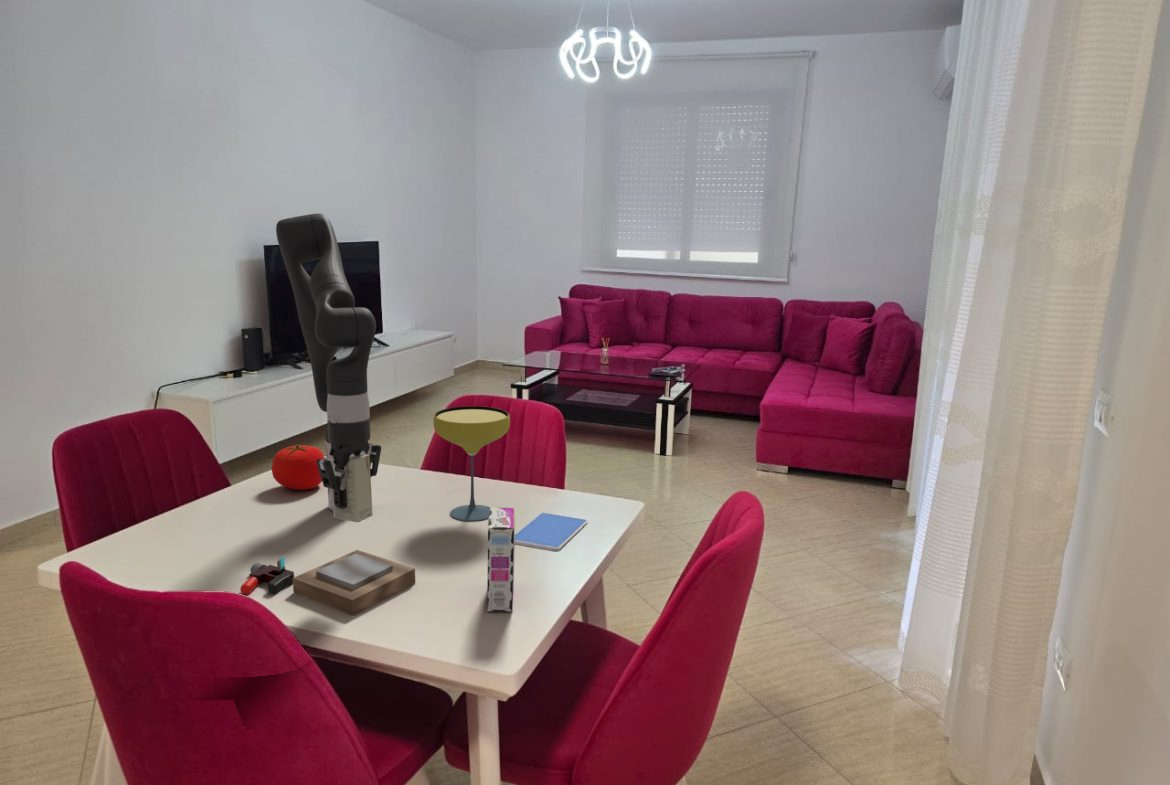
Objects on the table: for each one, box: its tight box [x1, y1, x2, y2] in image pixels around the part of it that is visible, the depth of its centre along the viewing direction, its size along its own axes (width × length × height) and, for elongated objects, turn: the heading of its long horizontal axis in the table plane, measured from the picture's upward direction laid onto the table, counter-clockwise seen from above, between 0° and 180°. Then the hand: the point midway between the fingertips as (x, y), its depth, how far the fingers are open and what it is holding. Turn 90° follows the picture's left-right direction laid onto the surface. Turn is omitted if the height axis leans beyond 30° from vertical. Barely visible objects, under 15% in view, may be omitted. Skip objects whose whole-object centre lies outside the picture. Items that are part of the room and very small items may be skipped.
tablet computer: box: [515, 512, 589, 552], centre depth 181 cm, size 19×13×1 cm, turn 160°
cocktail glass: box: [433, 405, 511, 522], centre depth 188 cm, size 18×18×25 cm
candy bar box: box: [486, 507, 516, 613], centre depth 146 cm, size 11×5×16 cm, turn 5°
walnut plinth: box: [292, 549, 416, 616], centre depth 150 cm, size 16×16×4 cm
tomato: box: [271, 444, 326, 491], centre depth 205 cm, size 13×14×12 cm
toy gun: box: [239, 555, 295, 595], centre depth 151 cm, size 10×12×5 cm
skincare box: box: [332, 455, 374, 523], centre depth 146 cm, size 6×4×12 cm
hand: (351, 503), depth 147 cm, fingers closed on skincare box, 4 cm apart
